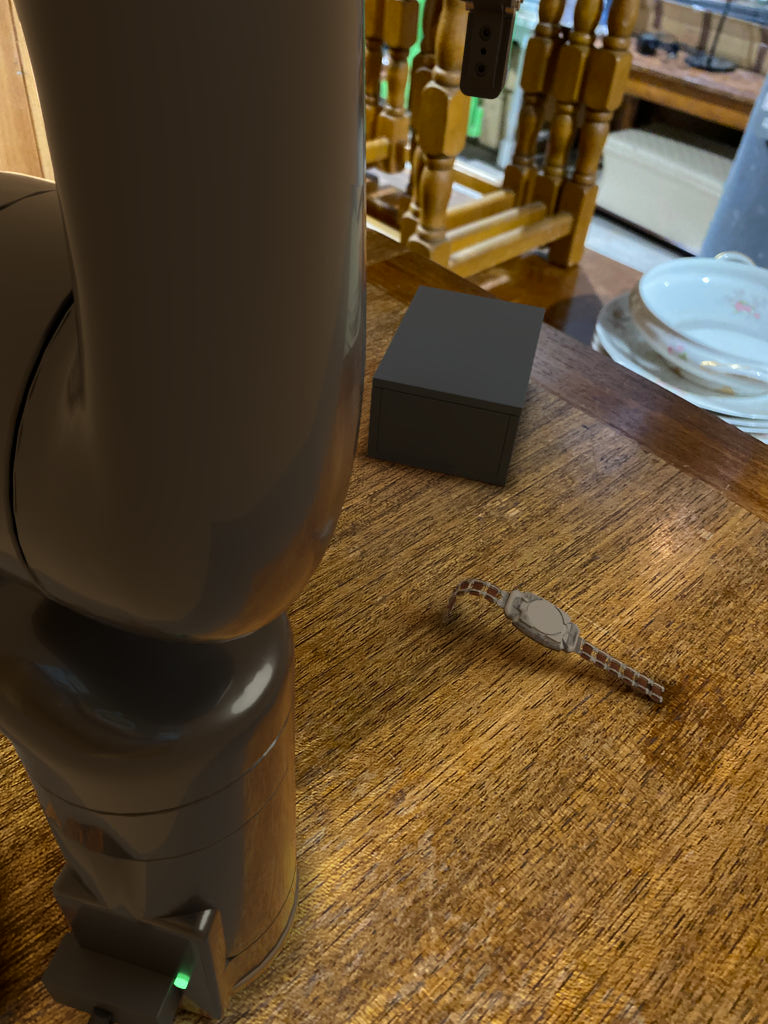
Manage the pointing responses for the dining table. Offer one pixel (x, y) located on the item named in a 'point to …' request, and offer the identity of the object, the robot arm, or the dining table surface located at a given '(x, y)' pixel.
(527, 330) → the lid
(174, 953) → the robot arm
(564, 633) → the wristwatch
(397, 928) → the dining table surface
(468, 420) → the chest
